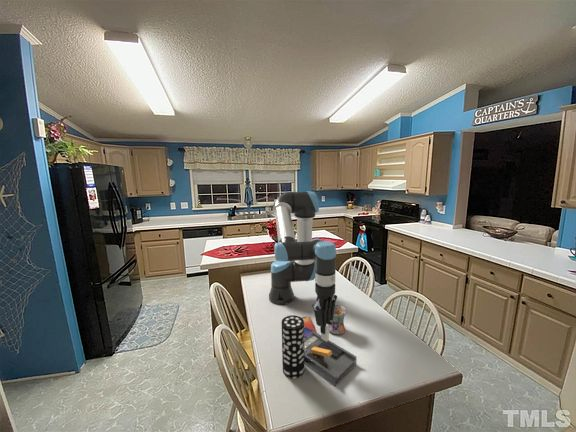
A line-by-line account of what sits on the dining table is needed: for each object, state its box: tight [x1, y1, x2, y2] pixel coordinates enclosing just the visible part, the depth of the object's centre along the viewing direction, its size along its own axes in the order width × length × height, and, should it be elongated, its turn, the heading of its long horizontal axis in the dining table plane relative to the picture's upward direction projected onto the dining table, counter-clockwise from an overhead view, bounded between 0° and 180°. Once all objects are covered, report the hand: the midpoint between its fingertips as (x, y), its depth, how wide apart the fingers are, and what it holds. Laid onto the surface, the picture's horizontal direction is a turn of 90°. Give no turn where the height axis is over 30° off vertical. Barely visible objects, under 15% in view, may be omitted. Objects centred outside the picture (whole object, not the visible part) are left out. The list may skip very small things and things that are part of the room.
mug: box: [329, 303, 347, 335], centre depth 115 cm, size 12×9×11 cm
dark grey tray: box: [304, 331, 357, 387], centre depth 97 cm, size 22×14×4 cm, turn 44°
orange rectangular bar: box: [311, 347, 332, 357], centre depth 94 cm, size 9×2×1 cm, turn 43°
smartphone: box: [300, 316, 318, 339], centre depth 117 cm, size 7×15×1 cm, turn 9°
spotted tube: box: [281, 314, 305, 379], centre depth 90 cm, size 8×8×20 cm
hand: (324, 339), depth 95 cm, fingers closed
